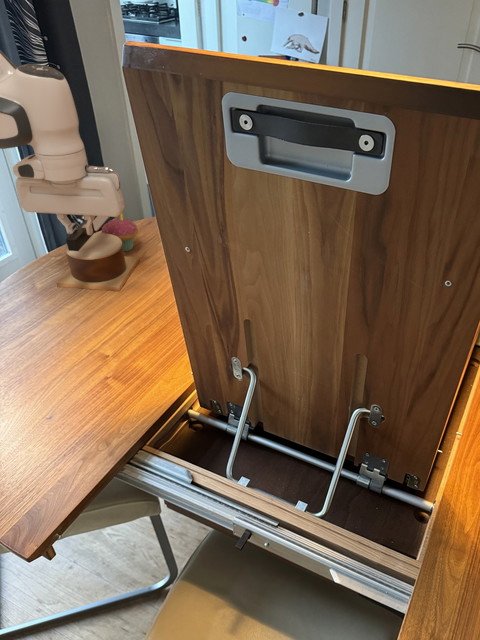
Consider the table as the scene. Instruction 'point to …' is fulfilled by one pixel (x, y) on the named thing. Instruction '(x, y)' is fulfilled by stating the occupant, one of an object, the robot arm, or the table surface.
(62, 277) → the cake
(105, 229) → the cupcake
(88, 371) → the table surface
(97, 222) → the knife
